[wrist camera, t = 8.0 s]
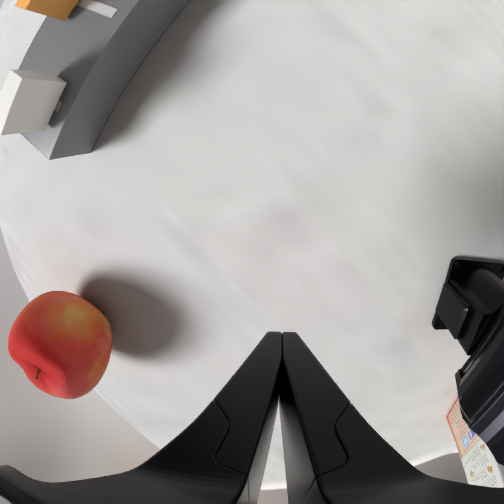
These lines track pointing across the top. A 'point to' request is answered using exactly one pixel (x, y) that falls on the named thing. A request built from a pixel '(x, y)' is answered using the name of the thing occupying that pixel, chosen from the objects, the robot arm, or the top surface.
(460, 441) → the cracker box
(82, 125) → the grey cube slider board
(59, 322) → the apple
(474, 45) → the top surface
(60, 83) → the tab
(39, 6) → the tab
